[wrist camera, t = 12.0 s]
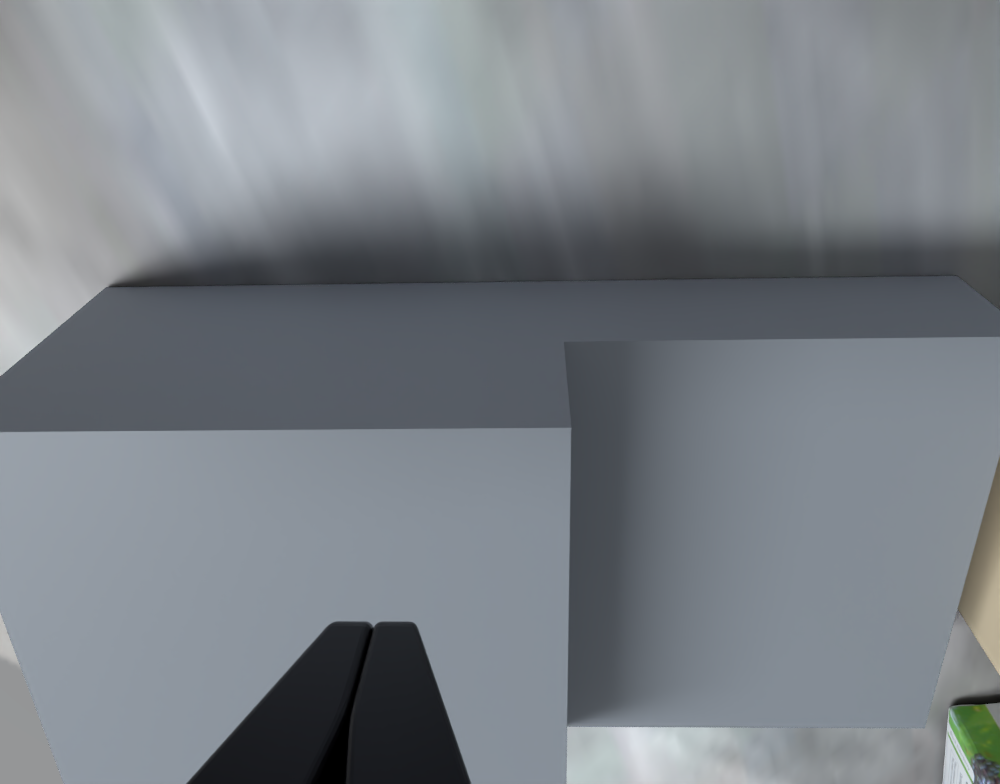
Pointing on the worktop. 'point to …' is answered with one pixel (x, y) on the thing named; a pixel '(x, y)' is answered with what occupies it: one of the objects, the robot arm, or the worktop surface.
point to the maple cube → (985, 579)
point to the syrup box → (973, 745)
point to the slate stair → (496, 504)
